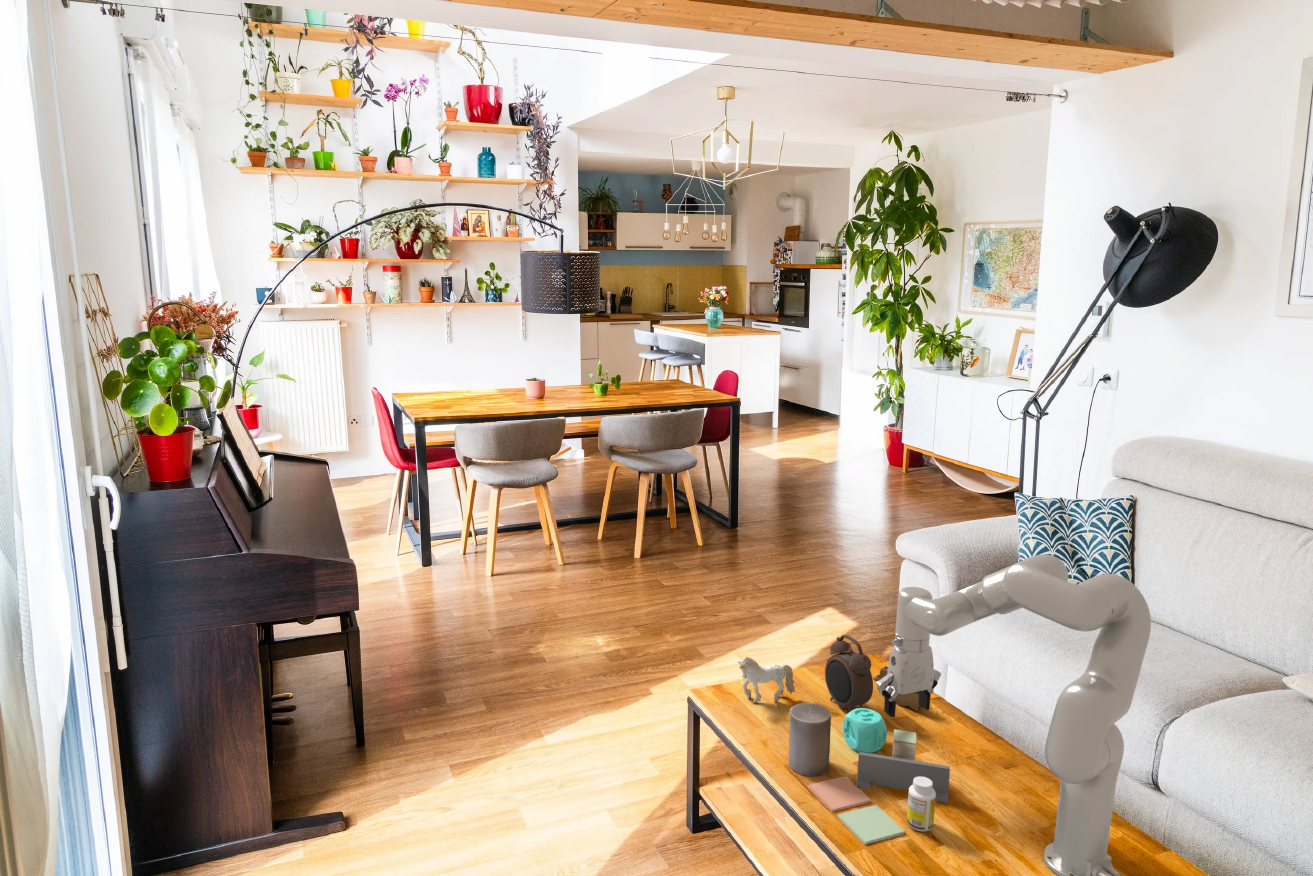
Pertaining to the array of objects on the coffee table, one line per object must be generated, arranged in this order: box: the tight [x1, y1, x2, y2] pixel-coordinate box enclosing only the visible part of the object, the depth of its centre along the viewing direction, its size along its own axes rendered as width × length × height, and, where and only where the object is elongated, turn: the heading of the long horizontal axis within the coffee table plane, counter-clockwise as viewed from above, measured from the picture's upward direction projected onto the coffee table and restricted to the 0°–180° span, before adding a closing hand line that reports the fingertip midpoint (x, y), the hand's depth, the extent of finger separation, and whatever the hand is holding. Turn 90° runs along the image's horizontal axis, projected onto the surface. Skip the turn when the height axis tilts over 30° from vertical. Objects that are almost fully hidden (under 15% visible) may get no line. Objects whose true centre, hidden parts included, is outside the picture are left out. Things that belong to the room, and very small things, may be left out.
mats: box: [807, 775, 906, 845], centre depth 194 cm, size 22×10×1 cm, turn 22°
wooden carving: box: [872, 665, 923, 712], centre depth 242 cm, size 16×5×10 cm, turn 43°
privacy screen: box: [855, 752, 951, 804], centre depth 202 cm, size 20×6×7 cm, turn 74°
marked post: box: [891, 728, 917, 761], centre depth 207 cm, size 5×5×10 cm
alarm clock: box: [824, 634, 874, 713], centre depth 238 cm, size 15×7×20 cm, turn 25°
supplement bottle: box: [906, 776, 936, 833], centre depth 188 cm, size 6×6×10 cm
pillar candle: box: [788, 702, 832, 777], centre depth 210 cm, size 10×10×15 cm
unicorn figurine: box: [737, 656, 796, 705], centre depth 241 cm, size 7×20×13 cm, turn 118°
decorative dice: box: [842, 707, 888, 754], centre depth 220 cm, size 8×8×8 cm
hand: (906, 711), depth 205 cm, fingers open, 9 cm apart
